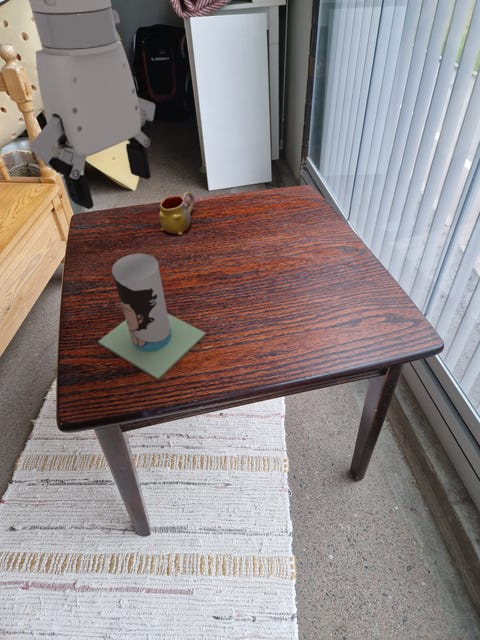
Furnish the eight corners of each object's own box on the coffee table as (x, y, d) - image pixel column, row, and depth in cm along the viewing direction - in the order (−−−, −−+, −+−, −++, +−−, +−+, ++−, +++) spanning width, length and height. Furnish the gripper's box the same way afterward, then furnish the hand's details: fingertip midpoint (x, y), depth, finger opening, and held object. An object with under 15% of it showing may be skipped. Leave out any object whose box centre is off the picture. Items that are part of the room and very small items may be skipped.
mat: (158, 380, 66) (158, 378, 66) (98, 343, 72) (97, 341, 72) (206, 335, 73) (205, 332, 73) (147, 305, 79) (147, 302, 79)
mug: (179, 238, 95) (176, 212, 91) (155, 231, 98) (150, 205, 93) (207, 214, 103) (205, 188, 98) (184, 208, 105) (181, 182, 101)
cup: (148, 318, 76) (132, 249, 65) (179, 331, 73) (167, 261, 63) (123, 342, 71) (102, 272, 61) (155, 357, 69) (138, 286, 58)
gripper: (116, 15, 49) (141, 160, 61) (-25, 41, 39) (38, 209, 51) (164, 21, 46) (180, 173, 58) (23, 51, 36) (78, 228, 47)
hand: (113, 190), depth 54 cm, fingers open, 9 cm apart
